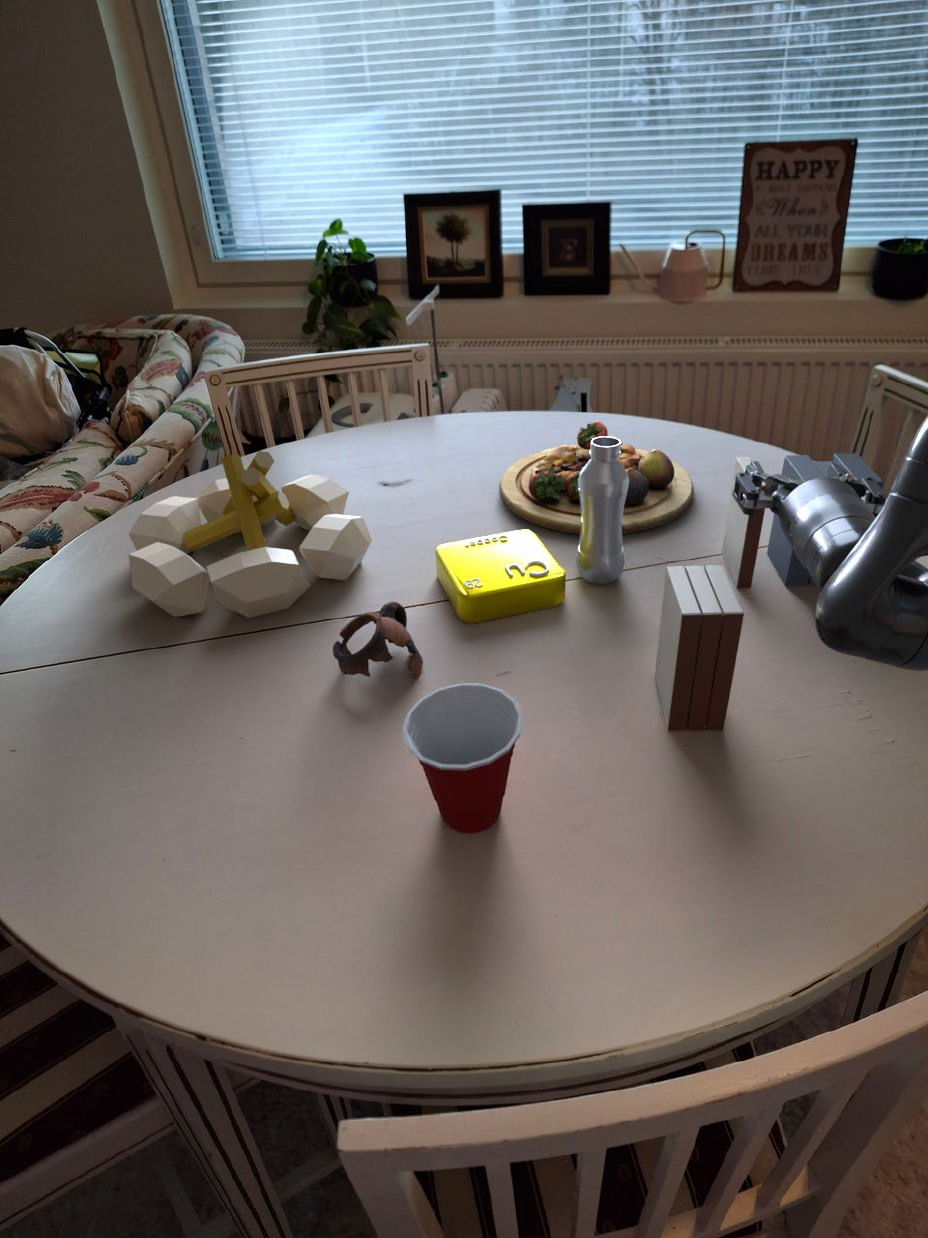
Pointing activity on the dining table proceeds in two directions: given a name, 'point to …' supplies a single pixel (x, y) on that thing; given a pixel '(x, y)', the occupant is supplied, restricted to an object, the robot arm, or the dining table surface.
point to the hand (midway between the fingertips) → (791, 470)
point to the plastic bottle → (602, 512)
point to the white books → (697, 647)
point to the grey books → (806, 471)
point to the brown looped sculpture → (377, 641)
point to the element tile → (499, 575)
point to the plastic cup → (465, 750)
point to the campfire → (260, 571)
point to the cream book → (742, 535)
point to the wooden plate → (552, 493)
